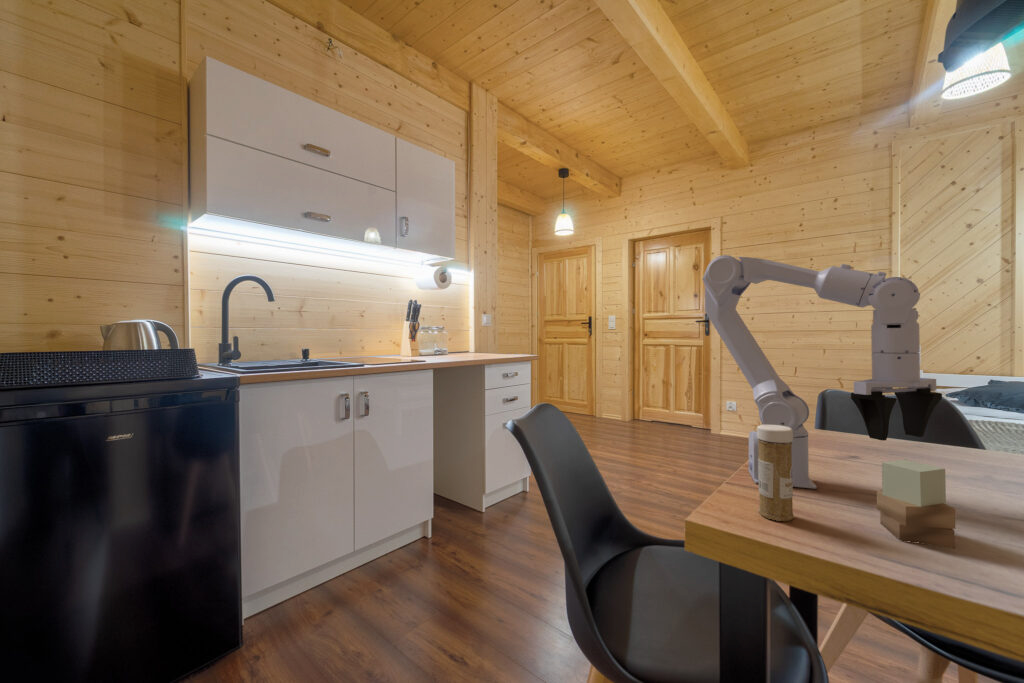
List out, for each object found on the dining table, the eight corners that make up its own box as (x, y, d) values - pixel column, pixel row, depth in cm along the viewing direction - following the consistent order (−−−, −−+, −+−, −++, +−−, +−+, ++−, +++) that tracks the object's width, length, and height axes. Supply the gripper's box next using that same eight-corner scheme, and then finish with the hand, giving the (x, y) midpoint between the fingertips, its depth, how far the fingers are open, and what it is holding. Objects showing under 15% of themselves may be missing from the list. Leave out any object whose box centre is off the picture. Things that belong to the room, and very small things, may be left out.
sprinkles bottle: (798, 524, 60) (797, 430, 60) (762, 520, 62) (761, 429, 62) (788, 511, 65) (787, 424, 65) (754, 508, 66) (753, 422, 66)
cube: (920, 506, 54) (920, 471, 54) (882, 494, 59) (881, 462, 59) (945, 502, 55) (945, 468, 55) (906, 491, 60) (905, 459, 60)
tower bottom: (899, 544, 55) (899, 524, 55) (880, 526, 60) (880, 508, 60) (954, 551, 53) (954, 530, 53) (929, 532, 58) (929, 513, 58)
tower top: (905, 526, 55) (905, 506, 55) (877, 509, 60) (876, 490, 60) (955, 528, 54) (955, 508, 54) (921, 511, 59) (921, 492, 59)
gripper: (887, 354, 62) (888, 446, 62) (959, 352, 65) (960, 439, 65) (840, 353, 69) (841, 436, 69) (907, 351, 72) (908, 430, 72)
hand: (896, 437), depth 68 cm, fingers open, 7 cm apart
